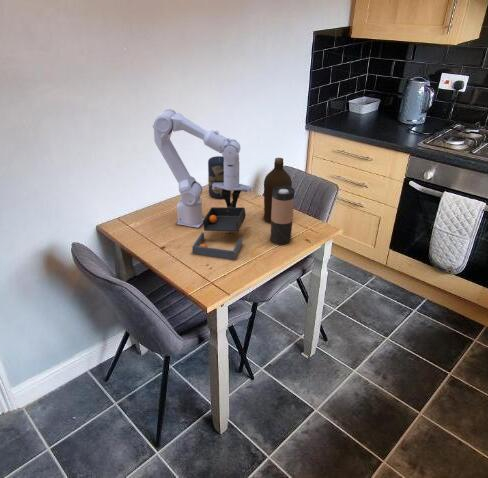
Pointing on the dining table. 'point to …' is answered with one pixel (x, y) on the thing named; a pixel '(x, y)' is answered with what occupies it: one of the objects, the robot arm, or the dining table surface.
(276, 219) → the travel mug
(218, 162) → the canister
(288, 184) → the olive oil
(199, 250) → the frame
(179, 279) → the dining table surface
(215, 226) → the scoop pan
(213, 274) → the dining table surface
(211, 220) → the ball
